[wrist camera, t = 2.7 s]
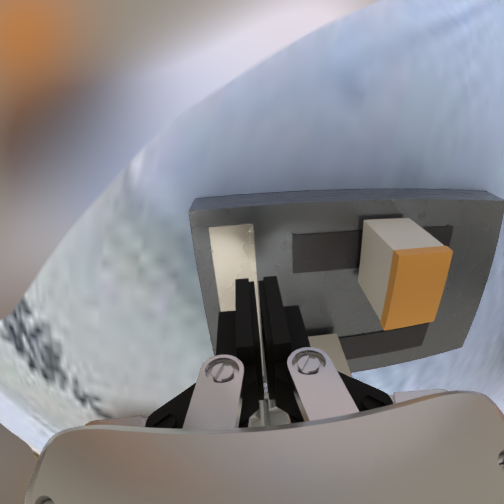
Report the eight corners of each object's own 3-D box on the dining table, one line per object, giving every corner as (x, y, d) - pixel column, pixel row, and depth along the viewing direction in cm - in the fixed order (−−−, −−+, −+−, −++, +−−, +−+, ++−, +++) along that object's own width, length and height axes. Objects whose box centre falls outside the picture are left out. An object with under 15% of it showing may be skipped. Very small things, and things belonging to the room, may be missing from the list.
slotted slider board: (485, 191, 18) (506, 201, 15) (450, 331, 24) (462, 347, 22) (195, 198, 18) (187, 211, 16) (222, 362, 24) (220, 385, 22)
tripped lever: (409, 216, 16) (453, 251, 12) (400, 277, 17) (434, 321, 13) (362, 218, 16) (399, 256, 12) (356, 282, 17) (383, 330, 13)
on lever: (336, 333, 19) (351, 376, 16) (330, 371, 21) (342, 413, 17) (293, 338, 19) (301, 383, 16) (291, 376, 21) (298, 419, 17)
